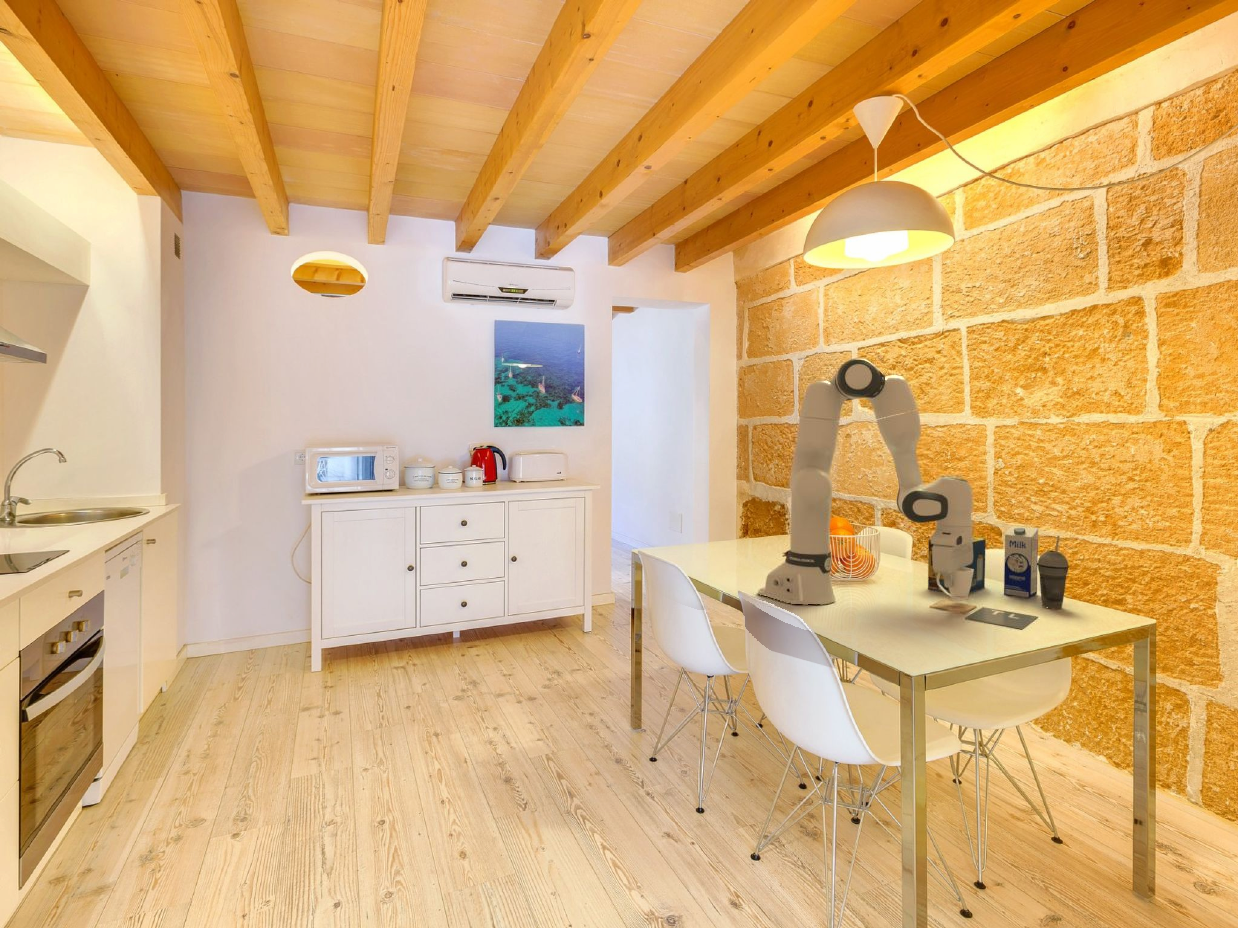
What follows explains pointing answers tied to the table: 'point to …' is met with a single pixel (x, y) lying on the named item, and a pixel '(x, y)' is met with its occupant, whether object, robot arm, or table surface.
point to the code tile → (1001, 618)
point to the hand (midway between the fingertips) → (953, 584)
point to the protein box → (976, 565)
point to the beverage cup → (1052, 577)
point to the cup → (959, 583)
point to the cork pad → (953, 606)
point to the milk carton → (1021, 562)
